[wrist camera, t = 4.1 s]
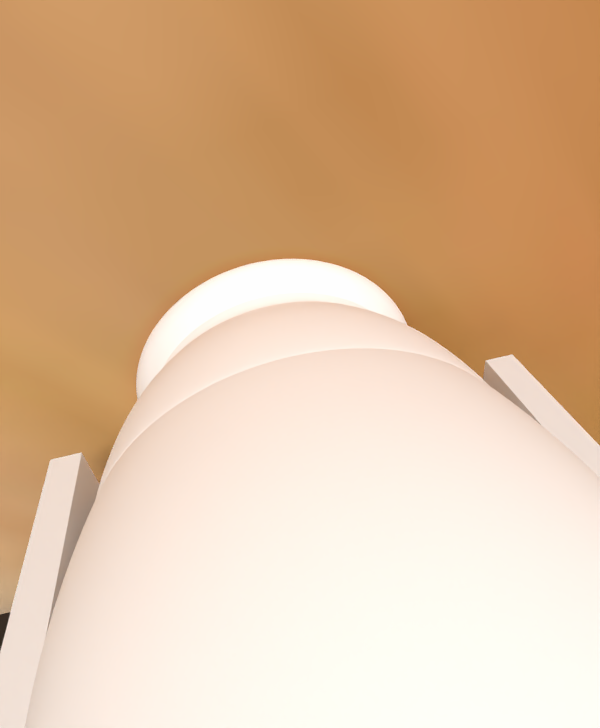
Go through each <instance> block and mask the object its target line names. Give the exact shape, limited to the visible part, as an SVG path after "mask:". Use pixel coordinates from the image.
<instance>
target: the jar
mask: <svg viewBox="0 0 600 728" xmlns="http://www.w3.org/2000/svg"><path fill="white" fill-rule="evenodd" d="M136 391H137V402H136V403H135V405H134V406H133V408H132V410H131V411H130V413H129V415H128V417H127V419H126V420H125V422H124V424H123V426H122V428H121V430H120V432H119V435H118V437H117V439H116V441H115V443H114V446H113V448H112V451H111V453H110V456H109V458H108V461H107V464H106V466H105V469H104V472H103V475H102V478H101V481H100V485H99V488H98V491H97V495H96V499H95V502H94V504H93V506H92V508H91V511H90V513H89V515H88V517H87V520H86V522H85V524H84V527H83V529H82V532H81V534H80V537H79V539H78V542H77V544H76V547H75V549H74V552H73V555H72V557H71V560H70V563H69V566H68V568H67V571H66V574H65V577H64V580H63V583H62V586H61V589H60V592H59V595H58V598H57V601H56V604H55V607H54V610H53V614H52V617H51V620H50V624H49V627H48V631H47V634H46V638H45V641H44V645H43V649H42V653H41V656H40V660H39V664H38V668H37V672H36V677H35V681H34V685H33V689H32V694H31V699H30V703H29V708H28V713H27V718H26V723H25V728H600V477H599V476H597V475H596V474H595V473H594V472H593V471H592V470H591V469H590V468H589V467H588V466H587V465H586V464H585V463H584V462H583V461H582V460H581V459H579V458H578V457H577V456H576V455H575V454H574V453H573V452H572V451H571V450H570V449H568V448H567V447H566V446H565V445H564V444H563V443H562V442H560V441H559V440H558V439H557V438H556V437H555V436H554V435H552V434H551V433H550V432H549V431H548V430H546V429H545V428H544V427H543V426H542V425H540V424H539V423H538V422H537V421H535V420H534V419H533V418H532V417H531V416H529V415H528V414H527V413H525V412H524V411H523V410H522V409H520V408H519V407H518V406H516V405H515V404H514V403H512V402H511V401H510V400H508V399H507V398H506V397H504V396H503V395H502V394H500V393H499V392H497V391H496V390H495V389H493V388H492V387H490V386H489V385H488V384H487V383H486V382H485V381H484V380H483V379H482V378H481V377H480V376H479V375H478V374H477V373H475V372H474V371H473V370H472V369H471V368H470V367H468V366H467V365H466V364H465V363H464V362H462V361H461V360H460V359H459V358H457V357H456V356H455V355H454V354H452V353H451V352H450V351H448V350H447V349H445V348H444V347H443V346H441V345H440V344H438V343H437V342H435V341H434V340H432V339H431V338H429V337H428V336H426V335H424V334H423V333H421V332H419V331H417V330H415V329H414V328H412V327H410V326H408V325H407V323H406V321H405V319H404V317H403V315H402V313H401V312H400V310H399V309H398V307H397V306H396V304H395V303H394V302H393V300H392V299H391V298H390V297H389V296H388V295H387V294H386V293H385V292H384V291H383V290H382V289H381V288H379V287H378V286H377V285H376V284H374V283H373V282H371V281H370V280H368V279H367V278H365V277H364V276H362V275H360V274H358V273H356V272H354V271H351V270H349V269H347V268H344V267H341V266H338V265H335V264H331V263H326V262H321V261H316V260H308V259H276V260H268V261H262V262H256V263H252V264H248V265H244V266H241V267H238V268H235V269H232V270H229V271H227V272H224V273H222V274H219V275H217V276H215V277H213V278H211V279H209V280H207V281H206V282H204V283H202V284H201V285H199V286H197V287H196V288H194V289H193V290H191V291H190V292H188V293H187V294H186V295H185V296H183V297H182V298H181V299H180V300H179V301H178V302H176V303H175V304H174V305H173V306H172V307H171V308H170V309H169V310H168V311H167V312H166V313H165V315H164V316H163V317H162V318H161V320H160V321H159V322H158V323H157V325H156V326H155V328H154V329H153V331H152V332H151V334H150V336H149V338H148V340H147V342H146V344H145V346H144V349H143V351H142V354H141V357H140V361H139V365H138V370H137V379H136Z"/></svg>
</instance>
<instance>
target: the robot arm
mask: <svg viewBox="0 0 600 728" xmlns="http://www.w3.org/2000/svg"><path fill="white" fill-rule="evenodd" d="M483 380H484V381H485V382H486V383H487V384H488V385H489V386H490V387H492V388H493V389H495V390H496V391H497V392H499V393H500V394H502V395H503V396H504V397H506V398H507V399H508V400H510V401H511V402H512V403H514V404H515V405H516V406H518V407H519V408H520V409H522V410H523V411H524V412H525V413H527V414H528V415H529V416H531V417H532V418H533V419H534V420H535V421H537V422H538V423H539V424H540V425H542V426H543V427H544V428H545V429H546V430H548V431H549V432H550V433H551V434H552V435H554V436H555V437H556V438H557V439H558V440H559V441H560V442H562V443H563V444H564V445H565V446H566V447H567V448H568V449H570V450H571V451H572V452H573V453H574V454H575V455H576V456H577V457H578V458H579V459H581V460H582V461H583V462H584V463H585V464H586V465H587V466H588V467H589V468H590V469H591V470H592V471H593V472H594V473H595V474H596V475H597V476H599V477H600V446H599V445H598V444H597V443H596V442H595V441H594V439H593V438H592V437H591V436H590V435H589V434H588V433H587V432H586V431H585V430H584V429H583V428H582V427H581V426H580V425H579V424H578V423H577V422H576V421H575V420H574V419H573V418H572V416H571V415H570V414H569V413H568V412H567V411H566V410H565V409H564V408H563V407H562V406H561V405H560V404H559V403H558V402H557V401H556V400H555V399H554V398H553V397H552V396H551V395H550V393H549V392H548V391H547V390H546V389H545V388H544V387H543V386H542V385H541V384H540V383H539V382H538V381H537V380H536V379H535V378H534V377H533V376H532V375H531V374H530V373H529V372H528V371H527V369H526V368H525V367H524V366H523V365H522V364H521V363H520V362H519V361H518V360H517V359H516V358H515V357H514V356H513V355H508V356H504V357H499V358H495V359H490V360H486V361H485V369H484V376H483ZM98 488H99V483H98V481H97V479H96V478H95V476H94V474H93V472H92V470H91V469H90V467H89V465H88V463H87V461H86V459H85V458H84V456H83V454H82V453H77V454H73V455H69V456H64V457H60V458H56V459H51V460H50V463H49V467H48V471H47V474H46V478H45V482H44V486H43V490H42V494H41V497H40V501H39V505H38V509H37V513H36V517H35V520H34V524H33V528H32V532H31V536H30V540H29V543H28V547H27V551H26V555H25V559H24V563H23V566H22V570H21V574H20V578H19V582H18V586H17V589H16V593H15V597H14V601H13V605H12V609H11V612H9V613H5V614H1V615H0V728H25V723H26V718H27V713H28V708H29V703H30V699H31V694H32V689H33V685H34V681H35V677H36V672H37V668H38V664H39V660H40V656H41V653H42V649H43V645H44V641H45V638H46V634H47V631H48V627H49V624H50V620H51V617H52V614H53V610H54V607H55V604H56V601H57V598H58V595H59V592H60V589H61V586H62V583H63V580H64V577H65V574H66V571H67V568H68V566H69V563H70V560H71V557H72V555H73V552H74V549H75V547H76V544H77V542H78V539H79V537H80V534H81V532H82V529H83V527H84V524H85V522H86V520H87V517H88V515H89V513H90V511H91V508H92V506H93V504H94V502H95V499H96V495H97V491H98Z"/></svg>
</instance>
